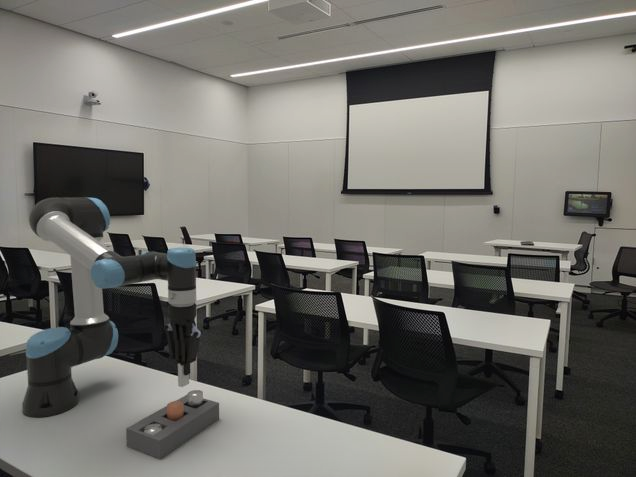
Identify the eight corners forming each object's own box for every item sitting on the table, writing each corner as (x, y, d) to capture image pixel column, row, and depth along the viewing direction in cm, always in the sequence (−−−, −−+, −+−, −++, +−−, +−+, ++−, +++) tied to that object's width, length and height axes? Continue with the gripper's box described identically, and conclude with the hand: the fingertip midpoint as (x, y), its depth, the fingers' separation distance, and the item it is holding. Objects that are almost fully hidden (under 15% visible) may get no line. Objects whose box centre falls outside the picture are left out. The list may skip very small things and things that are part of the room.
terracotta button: (163, 421, 124) (163, 406, 123) (175, 414, 128) (175, 399, 127) (175, 425, 122) (175, 409, 121) (187, 418, 126) (186, 403, 125)
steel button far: (184, 409, 131) (184, 394, 130) (194, 403, 135) (194, 388, 134) (195, 412, 129) (195, 398, 128) (206, 406, 133) (206, 392, 132)
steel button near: (140, 446, 117) (140, 429, 116) (153, 437, 121) (153, 422, 120) (152, 450, 115) (152, 434, 114) (165, 442, 119) (165, 426, 118)
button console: (126, 446, 118) (126, 428, 117) (188, 409, 138) (188, 393, 137) (159, 459, 112) (159, 440, 112) (219, 418, 133) (219, 402, 132)
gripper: (155, 303, 124) (157, 384, 126) (189, 309, 118) (191, 395, 120) (175, 297, 130) (177, 375, 133) (209, 303, 124) (210, 385, 127)
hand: (183, 384), depth 126 cm, fingers closed
